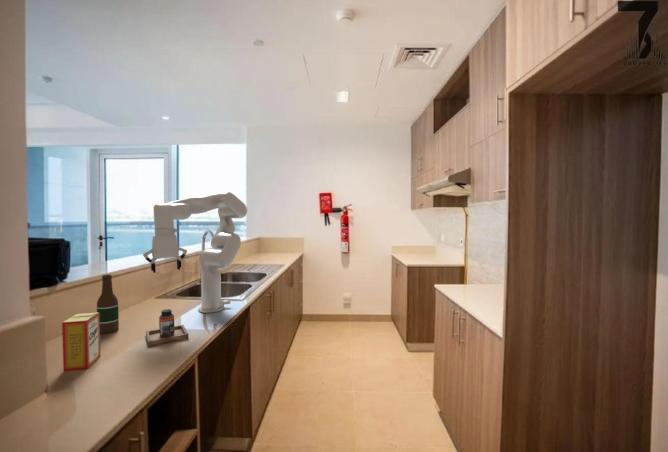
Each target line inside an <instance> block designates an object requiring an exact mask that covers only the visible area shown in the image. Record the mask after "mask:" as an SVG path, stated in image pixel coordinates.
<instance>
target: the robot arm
mask: <svg viewBox="0 0 668 452" xmlns="http://www.w3.org/2000/svg"><path fill="white" fill-rule="evenodd" d="M216 209H217V213H218V217H219V226H218V228H217V230H216V231H215V233H214V235H213V236H212V239H211V242H210V247H211V248H209V249H208V248H207V249H204V250H202V251H201V252H200V253H199V255H198V263H199V267H200V280H201V281H200V283H201V284H200V285H201V286H200V288H201V289H200V290H201V292H200V293H201V306H199V307H198V309H197V310H198V312H199V313H203V314H204V313H205V314H207V313H208V314H209V313H210V314H211V313H218V312H222V311H223V310H224V309H225V305H231V299H228V300H227V299H224V300H223V299H222V277H221V271H220V269H227V268H229V267H231V265H232V263H234V260H235V259H236V256H237V254H238V252H239V251H240V248H241V244H242V241H241V240H242V239H241V237H240V235H239V234H237V233H235V230H236V226H235V224H234V221H233V219H243V218H245V217H246V216H247V213H248V207H247V205H246V204H245V203H244V202H243V201H242V200H241V199H240V198H239V197H237V196H236V195H235V194H233V193H232V192H230V191H213V192H210V193H206V194H203V195H202V194H201V195H198V196H193V197H190V198H189V197H188V198H185V199H178V200H174V201H170V202H166V203H157V204H154V205H153V223H154V225H153V226H154V235H153V236H152V239H151V240H152V242H151V249H149V250H148V251H146V252H144V253H143V254H142V256H143V257H144V259H145V260H146V261H147V262H148V263H149V264H150V271H151V272H153V274H155V273H157V272H156V269H157V267H156V263H155V262H156V261H157V260H160V259H169V258H176V259H177V260H176V269H177V270H179V271H181V268H182V261H183V259H184V258H185V257H186V254H187V253H188V250H187V249H185V248H181V247H179V242H178V237H177V235H176V233H178V232H179V231H178V228H175V225H174V223H175V222H174V221H175V220H176V221H177V220H178V221H181V220H183V221H184V220H186V219H189V218H190V217H191V215H197V214H198V215H199V214H204V213H207V212H209V211H212V210H216ZM180 252H182V254H181V255H180ZM150 254H152V257H151V258H150V257H149V255H150Z"/></svg>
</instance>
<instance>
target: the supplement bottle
mask: <svg viewBox="0 0 668 452" xmlns="http://www.w3.org/2000/svg"><path fill="white" fill-rule="evenodd" d="M158 321H159V322H158V323H159V327H158V329H159V330H160V337H170V336H172V335H174V326H175V314H173V313H172V309H170V308H167V309H162V310H161V314H160V316H159V318H158Z"/></svg>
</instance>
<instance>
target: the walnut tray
mask: <svg viewBox="0 0 668 452" xmlns="http://www.w3.org/2000/svg"><path fill="white" fill-rule="evenodd" d="M187 330H188V329H186V327H185V326H184V324H180V325H179V324H178V325H174V335H172V336H170V337H160V330H159V328H156V329H150V330H146V331H145V339H146V343H147V348H149V347H155V346H160V345H165V344H170V343H174V342H180V341H184V340H189V333H188V331H187Z"/></svg>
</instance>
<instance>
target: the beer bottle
mask: <svg viewBox="0 0 668 452" xmlns="http://www.w3.org/2000/svg"><path fill="white" fill-rule="evenodd" d="M112 278H113V276H112V274H103V275H102V276H101V280H102V286H101V294H100V296H99V297H98V299H97V301H96V312H99V315H100V335H107V334H112V333H115V332H116V331H118V330H119V329H120V328H119V326H120V325H119V324H120V323H119V321H120V320H119V319H120V318H119V315H120V314H119V300H118V297H117V296H116V295H115V293H114V291H113V283H112V281H113V280H112Z"/></svg>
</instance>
